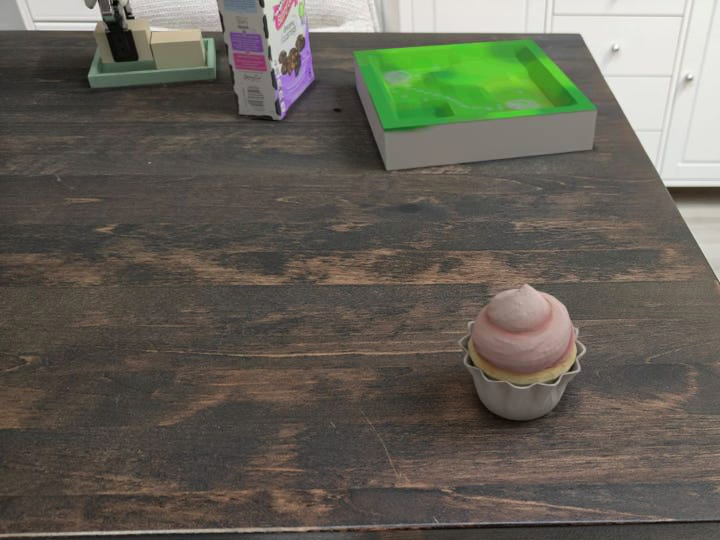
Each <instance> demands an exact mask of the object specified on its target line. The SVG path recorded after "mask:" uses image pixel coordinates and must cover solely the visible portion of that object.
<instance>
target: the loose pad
mask: <svg viewBox="0 0 720 540" xmlns="http://www.w3.org/2000/svg"><path fill="white" fill-rule="evenodd" d="M126 21H127V25H128V29H131V31H132V34H133V38H134V41H135V45H136V49H137V52H138V56H139V59H138V61H144V60H153V58H154V56H153V52H152V48H151V44H150V43H151V37H152V31H151V27H150V23H149V18H135V19H132V20H126ZM93 36H94V39H95V43H96V47H98V49H99V52H100V55H101V59H102V62H103V63H117V62H115V61H114V60H113V56H112V53H111V50H110V47H109V43H108V40H107V37H106V33H105V28H104V24H103V20H101V21H97V22H96V25H95V28H94V31H93Z"/></svg>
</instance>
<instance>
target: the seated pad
mask: <svg viewBox="0 0 720 540" xmlns="http://www.w3.org/2000/svg"><path fill="white" fill-rule="evenodd" d="M151 34H152V37H151V43H150V44H151V48H152V52H153V56H154V60H155V63H156V67H157V70H160V69H174V68H188V67H202V66H206V53H205V48H204V43H203V39H204V38H203V35H202V30H201V28H194V29H192V28H191V29H176V30H159V31H151Z"/></svg>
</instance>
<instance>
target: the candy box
mask: <svg viewBox="0 0 720 540" xmlns="http://www.w3.org/2000/svg"><path fill="white" fill-rule="evenodd" d="M216 5H217V10H218V15H219V21H220V26H221V32H222V36H223V41H224V46H225V53H226V57H227V63H228V67H229V72H230V78H231V83H232V88H233V93H234V98H235V103H236V109H237V113H238V115H245V116H243V117H245V118H253V119H254V118H255V119H263V120H272V121H274V120H275V121H281V120H283V119H284V118H285V117H286V115H287V114H288V112H287V111H288V110H289V109H290V108H291V107H292V105H293V104H294V103H295V102H296V101H297V100H298V98H299V97H300V96H301V95H302V94H303V93H304V92H305V90H306V89H307V88H308V87H309V86H310V85H311V84H312V82H313V81H315V79H316V78H315V70H314V69H315V68H314V62H313V55H312V48H311V39H310V32H309V31H310V30H309V23H308V17H307V8H306V1H305V0H216Z"/></svg>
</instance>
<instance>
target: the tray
mask: <svg viewBox="0 0 720 540" xmlns="http://www.w3.org/2000/svg"><path fill="white" fill-rule="evenodd" d="M352 52H353V65H354V73H355V74H354V76H355V86H356V91H357V93H358V96H359V98H360V99H359V100H360V102H361V104H362V107H363V110H364V113H365V115H366V119H367V121H368V124H369V126H370V129H371V132H372V134H373V137H374V140H375V143H376V145H377V148H378V150H379V154H380V156H381V159H382V161H383V164H384V167H385V169H386V171H396V170H406V169H416V168H426V167H436V166H437V167H438V166H444V165H446V166H447V165H456V164H463V163H464V164H466V163H473V162H483V161H485V162H486V161H493V160H495V161H496V160H503V159H513V158H523V157H532V156H534V157H535V156H541V155H552V154H561V153H570V152H580V151H590V150H591V151H592V150H593V148H594V139H595V133H596V131H595V130H596V124H597V115H598V108H597V107H596V106H595V104H594V103H592V101H590V100H589V98H588V97H587V96H586V95H585V94H584V93H583V92H582V91H581V90H580V89H579V88H578V86H576V84H575V83H574V82H573V81H571V79H570V78H569V77H568V76H567V74H565V73H564V72H563V71H562V70H561V69H560V68H559V66H557V65H556V63H555V62H554V61H553V60H552V59H551V58H550V57H549V56H548V55H547V54H546V53H545V52H544V51H543V50H542V48H540V47H539V46H538V44H537V43H536V42H535V41H534V40H533V39H532V38H527V39H526V38H525V39H524V38H523V39H511V40H497V41H484V42H469V43H454V44H453V43H452V44H439V45H424V46H411V47H410V46H409V47H408V46H407V47H395V48H394V47H393V48H382V49H381V48H379V49H364V50H353V51H352Z"/></svg>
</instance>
